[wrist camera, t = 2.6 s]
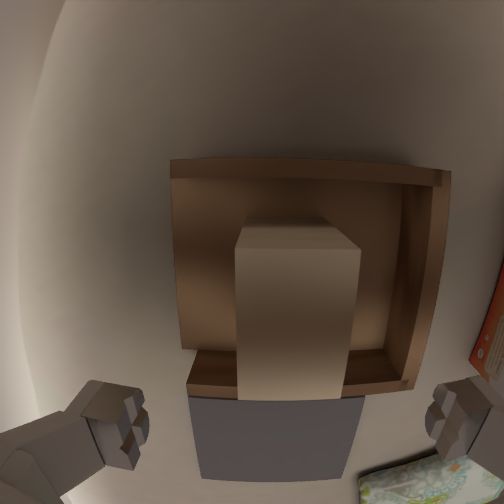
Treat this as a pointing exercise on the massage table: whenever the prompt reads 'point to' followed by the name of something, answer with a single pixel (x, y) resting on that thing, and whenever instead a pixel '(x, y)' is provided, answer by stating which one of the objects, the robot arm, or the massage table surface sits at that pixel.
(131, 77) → the massage table surface
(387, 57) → the massage table surface
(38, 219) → the massage table surface
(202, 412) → the mat
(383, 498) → the towel
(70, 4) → the massage table surface
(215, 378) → the shelf bay
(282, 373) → the block
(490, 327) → the cracker box
